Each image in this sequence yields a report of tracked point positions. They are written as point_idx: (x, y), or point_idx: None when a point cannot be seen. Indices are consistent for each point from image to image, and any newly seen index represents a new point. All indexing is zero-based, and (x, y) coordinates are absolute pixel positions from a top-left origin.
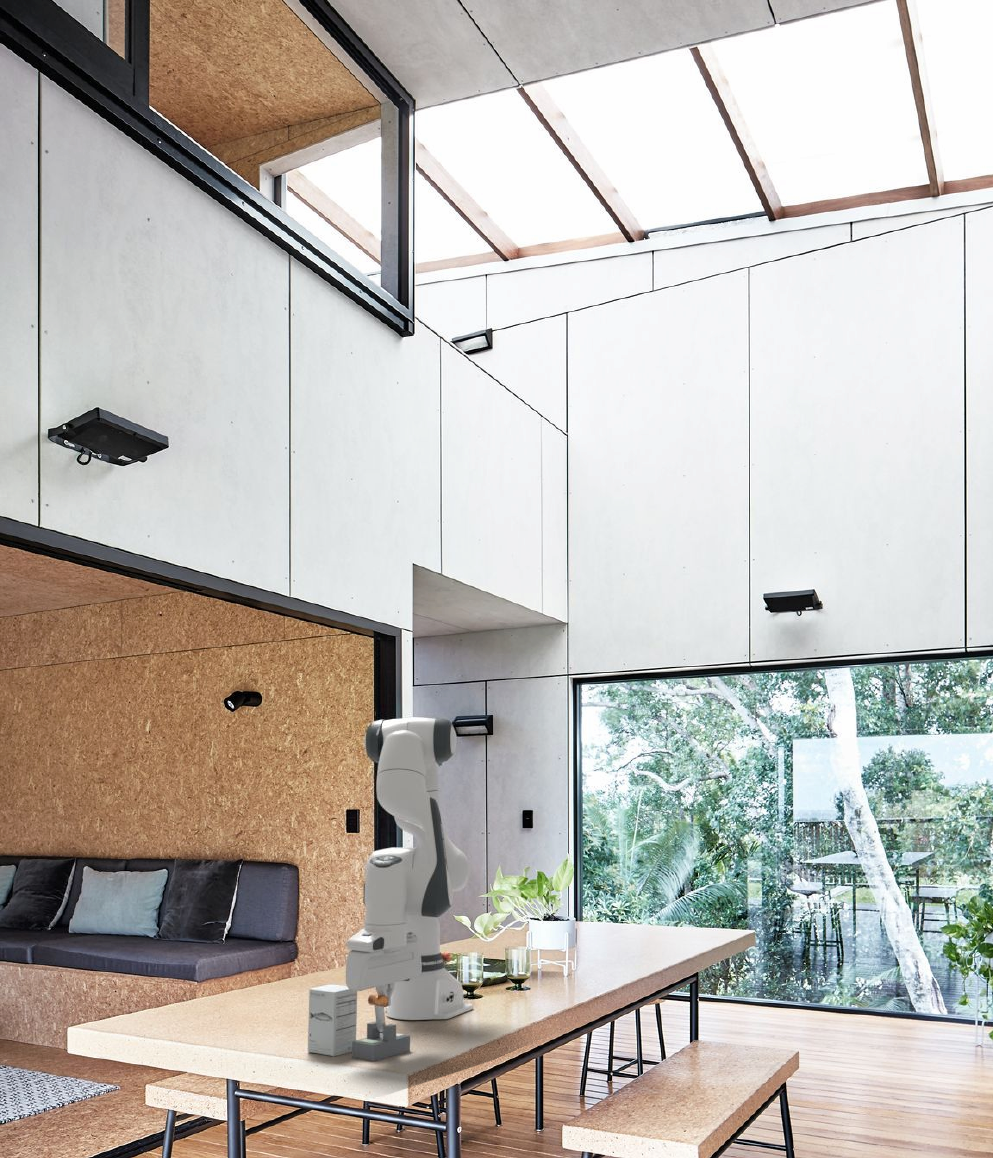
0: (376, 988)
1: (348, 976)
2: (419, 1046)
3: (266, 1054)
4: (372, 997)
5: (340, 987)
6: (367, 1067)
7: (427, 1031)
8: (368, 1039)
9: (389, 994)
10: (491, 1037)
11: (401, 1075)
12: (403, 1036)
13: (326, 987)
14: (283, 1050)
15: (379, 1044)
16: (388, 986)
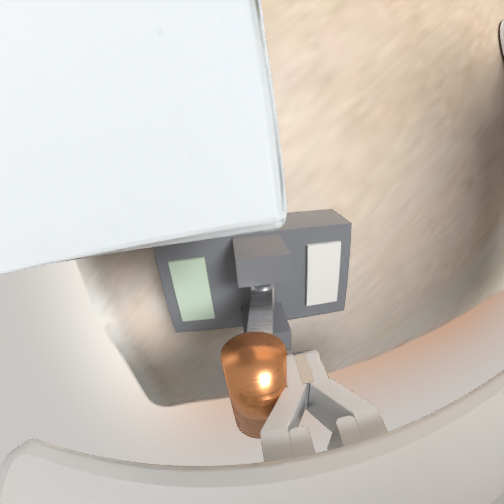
0: (262, 440)
1: (10, 494)
2: (378, 267)
3: None
4: (234, 389)
5: (102, 105)
6: (133, 334)
7: (484, 169)
8: (205, 275)
9: (318, 418)
10: (471, 303)
11: (156, 402)
12: (323, 307)
13: (22, 30)
14: None
15: (199, 328)
16: (331, 448)
